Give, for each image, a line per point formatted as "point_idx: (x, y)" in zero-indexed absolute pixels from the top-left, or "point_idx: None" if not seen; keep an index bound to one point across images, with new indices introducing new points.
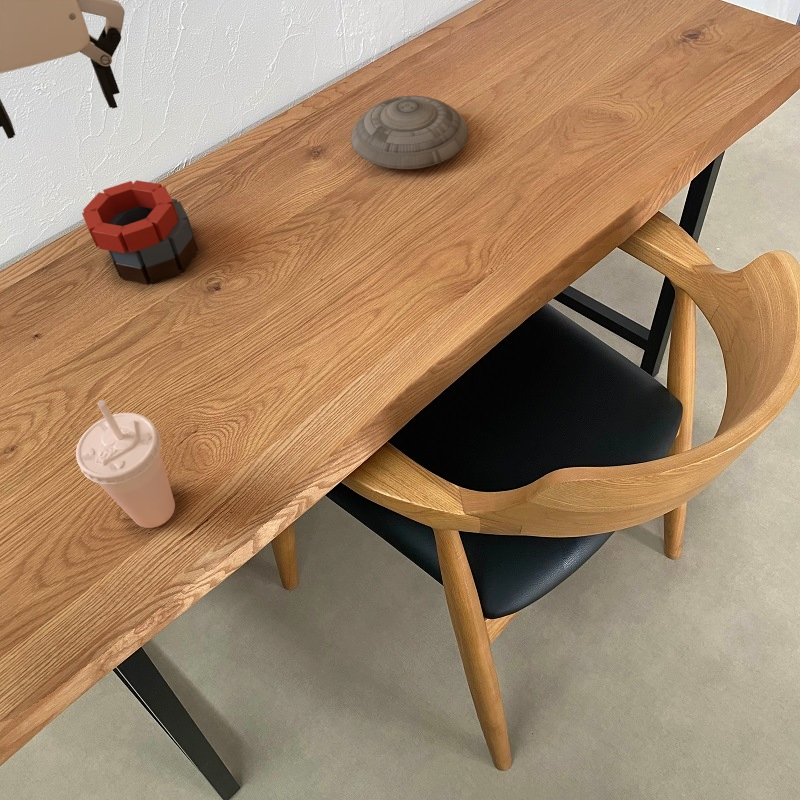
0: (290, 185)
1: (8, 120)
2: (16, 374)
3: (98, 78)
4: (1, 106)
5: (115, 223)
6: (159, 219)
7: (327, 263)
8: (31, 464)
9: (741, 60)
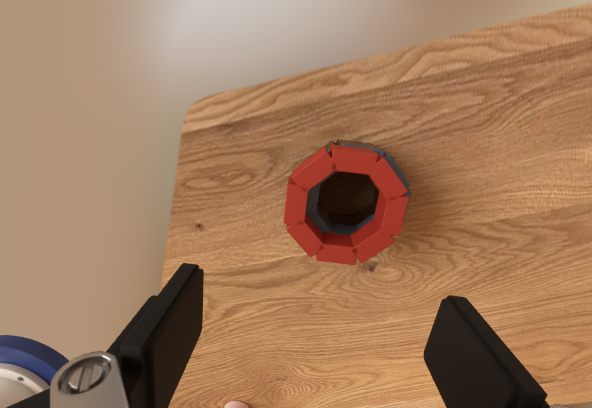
0: (542, 164)
1: (188, 355)
2: (173, 260)
3: (464, 404)
4: (168, 402)
5: (322, 182)
6: (366, 259)
7: (472, 298)
8: None
9: None
